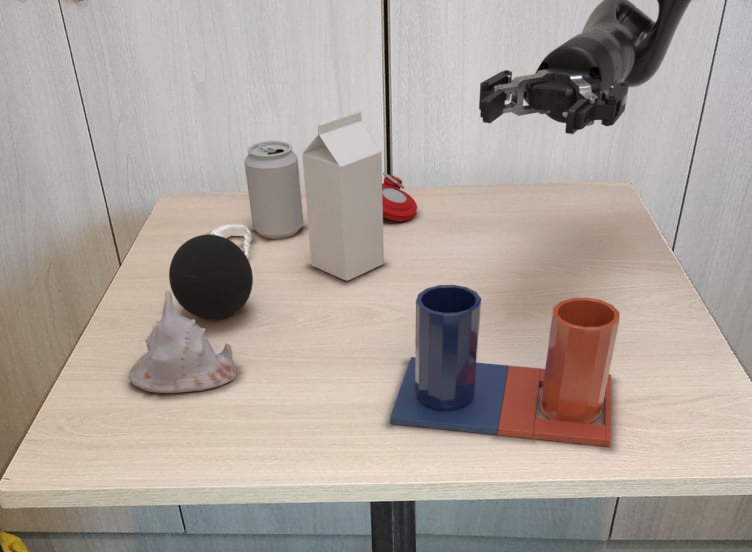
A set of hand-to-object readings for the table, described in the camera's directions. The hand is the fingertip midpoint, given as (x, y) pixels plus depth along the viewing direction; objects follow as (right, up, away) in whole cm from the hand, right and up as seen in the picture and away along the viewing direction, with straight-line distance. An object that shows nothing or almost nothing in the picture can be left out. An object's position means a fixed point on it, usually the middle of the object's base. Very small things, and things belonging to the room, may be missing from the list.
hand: (527, 117), depth 78 cm
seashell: (-36, -22, +15) cm, 45 cm away
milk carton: (-18, -4, +33) cm, 38 cm away
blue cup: (-7, -26, +8) cm, 28 cm away
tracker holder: (-12, +9, +47) cm, 49 cm away
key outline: (-34, 0, +38) cm, 51 cm away
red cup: (+6, -27, +7) cm, 29 cm away
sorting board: (-1, -26, +8) cm, 28 cm away
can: (-29, +4, +43) cm, 52 cm away
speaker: (-34, -13, +24) cm, 44 cm away
